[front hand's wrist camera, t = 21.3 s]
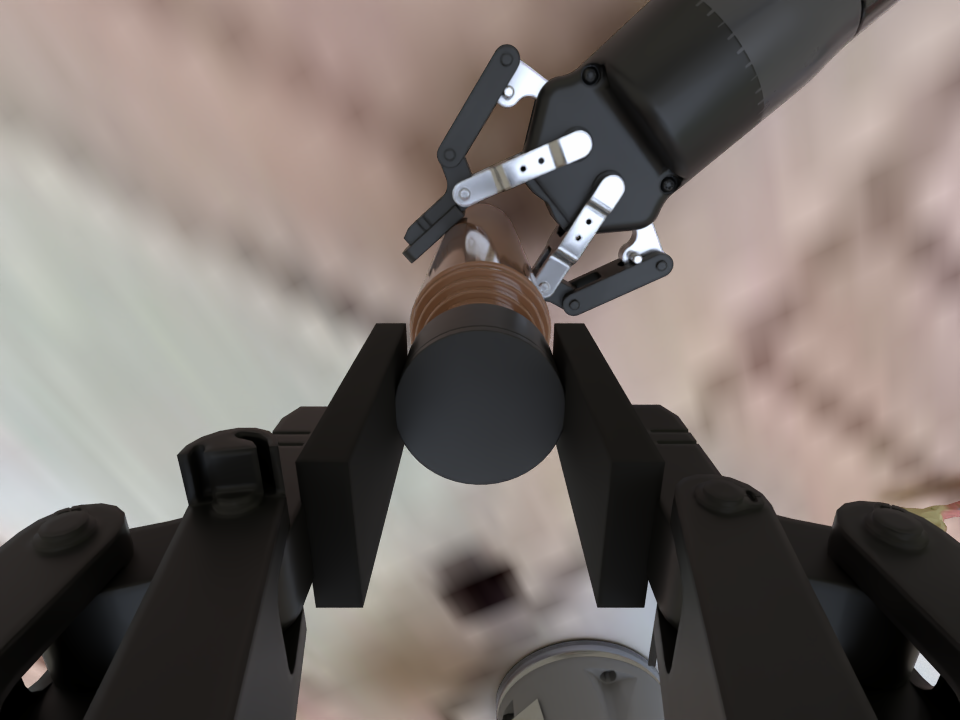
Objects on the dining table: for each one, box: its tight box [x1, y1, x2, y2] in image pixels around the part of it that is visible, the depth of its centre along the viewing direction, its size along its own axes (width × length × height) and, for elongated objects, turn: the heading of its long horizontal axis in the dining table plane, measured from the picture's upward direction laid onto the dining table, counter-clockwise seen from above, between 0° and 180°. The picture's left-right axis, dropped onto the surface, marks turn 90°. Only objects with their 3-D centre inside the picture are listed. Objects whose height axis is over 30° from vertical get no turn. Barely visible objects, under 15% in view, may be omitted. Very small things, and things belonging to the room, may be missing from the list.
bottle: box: [409, 203, 551, 345], centre depth 24 cm, size 4×4×23 cm
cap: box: [395, 303, 565, 485], centre depth 13 cm, size 4×4×2 cm
